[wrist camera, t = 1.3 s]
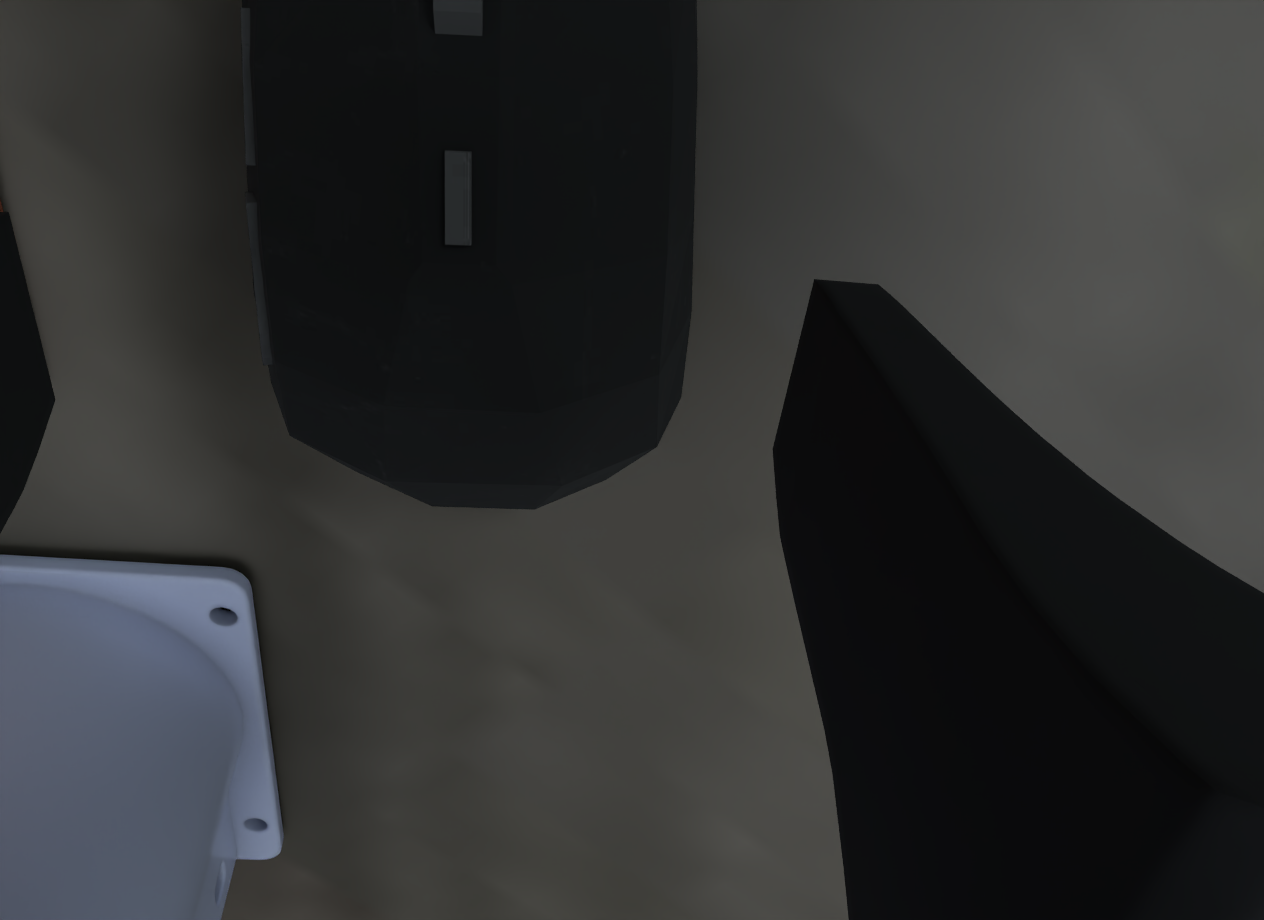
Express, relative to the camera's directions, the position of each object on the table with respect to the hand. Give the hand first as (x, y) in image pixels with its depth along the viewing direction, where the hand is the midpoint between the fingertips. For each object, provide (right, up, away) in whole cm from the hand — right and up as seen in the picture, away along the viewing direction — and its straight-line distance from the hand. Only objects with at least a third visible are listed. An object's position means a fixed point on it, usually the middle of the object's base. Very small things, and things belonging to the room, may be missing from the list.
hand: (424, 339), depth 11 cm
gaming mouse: (0, +4, +6) cm, 7 cm away
